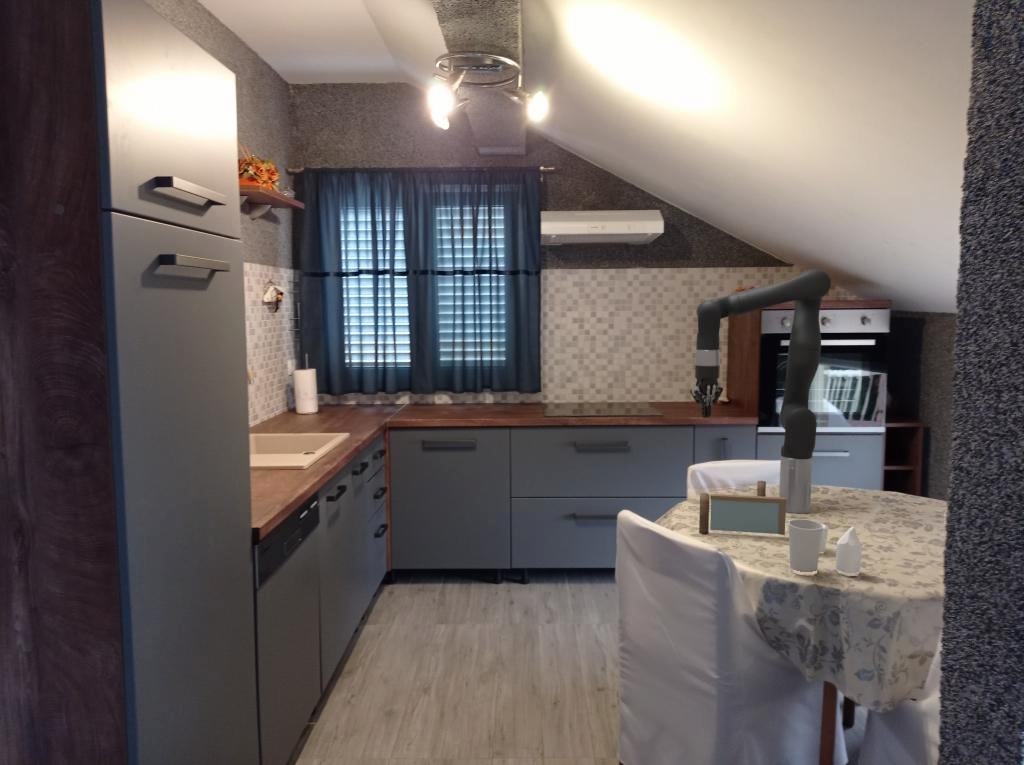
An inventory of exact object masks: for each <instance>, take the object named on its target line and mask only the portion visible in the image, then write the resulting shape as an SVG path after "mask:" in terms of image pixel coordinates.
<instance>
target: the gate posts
mask: <svg viewBox="0 0 1024 765" xmlns="http://www.w3.org/2000/svg"><path fill="white" fill-rule="evenodd" d="M766 485H767V482H766V481H765V480H757V487H756V488H757V490H756V491H757V492H756V496H763V497H766V492H767V490H766V488H767V486H766ZM698 522H699V523H698V524H699V525H698V527H699V529H698V532H699V533H698V534H700V535H708V534H709V533H710V531H709V530H710V494H709V493H707V492H706V493H705V492H701V493H700V494H699V520H698Z"/></svg>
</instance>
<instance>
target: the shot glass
mask: <svg viewBox="0 0 1024 765" xmlns="http://www.w3.org/2000/svg"><path fill="white" fill-rule="evenodd" d="M820 523H821V524H822V525H823V531H822V538H821V543H820V551H819V552H824V551H826V545H827V539H828V530H829V526H828V525H827V524H826V523H822V522H820ZM824 553H825V552H824Z"/></svg>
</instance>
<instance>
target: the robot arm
mask: <svg viewBox="0 0 1024 765" xmlns="http://www.w3.org/2000/svg"><path fill="white" fill-rule="evenodd" d="M831 287H832V279H831V277H830V275H829V274H828V273H827V272H826V271H824V270H822V269H818V268H812V269H807V270H804V271H802V272H801V273H799V274H798V276H796V277H793V278H791V279H788V280H786V281H782V282H779V283H774V284H769V285H764V286H758V287H755V288H750V289H746V290H742V291H741V290H740V291H738V292H734V293H731V294H729V295H726V296H720V297H716V298H710V299H706V300H704V301H702V302H700V303H699V304H698V305H697V308H696V316H697V334H696V345H695V347H696V350H695V356H694V357H695V358H694V360H695V362H694V378H695V379H696V381H695V387H694V388H693V389H690V390H689V393H690V395H691V396H692V398H693V400H694V402H695V403H696V404H697V405H700V406H701V417H702V418H705V419H708V418H711V415H712V406H713V405H715V404H717V403H718V400H719V399H720V397H721V395H722V393H723V391H724V387H721V386H720V385H719V381H718V379H719V378H720V376H721V374H720V372H721V371H720V367H721V366H720V365H721V364H720V362H721V361H720V360H721V355H720V331H721V330H720V329H721V328H720V327H721V319H725V318H728V317H735V316H742V315H745V314H748V313H752V312H757V311H759V310H760V311H761V310H764V309H766V308H771V307H773V306H776V305H781V304H784V303H785V304H786V303H789V302H794V307H793V308H794V312H793V313H794V314H793V320H792V324H791V331H790V336H789V344H788V350H787V351H788V352H787V363H786V365H787V366H786V374H785V389H784V393H783V394H784V395H783V399H782V404H781V407H780V413H779V422H780V424H781V427H782V428H783V429H784V442H783V445H782V446H781V448H780V464H779V465H780V466H779V489H778V490H779V492H778V493H779V495H778V496H779V497H783V498H786V499H787V504H786V512H787V513H791V514H811V495H812V472H813V471H812V470H813V468H812V467H813V453H814V451H815V447H816V441H817V440H816V438H817V419H816V415H815V413H814V412H813V411H812V410H811V409H809V396H810V390H811V386H812V383H813V381H814V379H815V376H816V374H817V371H818V369H819V365H820V358H821V349H822V335H821V326H820V310H821V303H822V298H823V297H825V296H826V295H828V293H829V292H830V289H831Z"/></svg>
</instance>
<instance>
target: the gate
mask: <svg viewBox="0 0 1024 765" xmlns="http://www.w3.org/2000/svg"><path fill="white" fill-rule="evenodd" d="M709 500H710V520H709V530H710V531H718V532H719V531H721V532H723V531H724V532H741V533H752V534H753V533H755V534H772V535H778V536H779V535H782V536H785V535H786V504H787V499H786V498H783V497H778V496H765V497H763V496H757V495H744V494H743V495H739V494H722V493H721V494H717V493H710V494H709Z"/></svg>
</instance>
